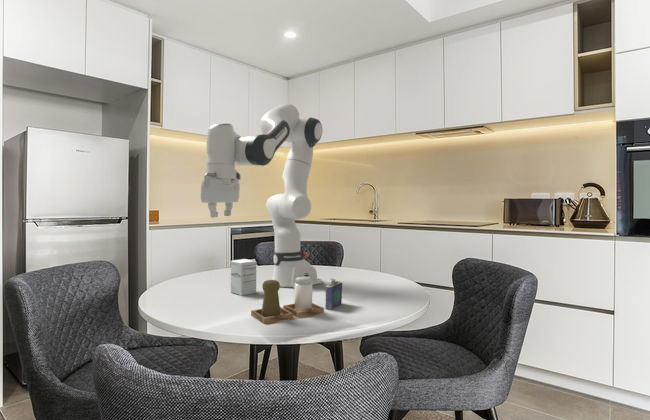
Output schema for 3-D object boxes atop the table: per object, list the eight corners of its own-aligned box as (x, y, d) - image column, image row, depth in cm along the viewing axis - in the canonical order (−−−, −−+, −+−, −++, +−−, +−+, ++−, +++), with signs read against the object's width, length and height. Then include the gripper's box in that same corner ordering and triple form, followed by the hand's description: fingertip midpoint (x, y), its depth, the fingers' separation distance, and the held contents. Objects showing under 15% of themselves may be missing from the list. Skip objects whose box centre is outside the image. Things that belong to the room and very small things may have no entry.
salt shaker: (306, 307, 130) (306, 275, 130) (315, 312, 126) (315, 278, 125) (291, 310, 127) (291, 277, 127) (300, 314, 123) (300, 280, 122)
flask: (330, 314, 128) (330, 281, 128) (322, 313, 130) (322, 280, 129) (343, 308, 136) (343, 276, 136) (335, 306, 138) (335, 275, 137)
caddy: (307, 309, 134) (307, 300, 134) (325, 318, 125) (325, 308, 125) (249, 319, 123) (249, 309, 123) (265, 329, 114) (265, 319, 113)
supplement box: (230, 292, 157) (230, 260, 156) (245, 289, 162) (245, 258, 162) (241, 296, 152) (241, 262, 151) (256, 292, 157) (257, 260, 157)
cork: (284, 315, 122) (284, 279, 122) (274, 320, 117) (274, 283, 116) (267, 312, 125) (268, 277, 124) (256, 318, 119) (257, 281, 119)
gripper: (214, 171, 118) (214, 218, 119) (242, 175, 138) (242, 215, 139) (195, 171, 120) (195, 218, 120) (225, 175, 140) (226, 215, 140)
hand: (221, 216), depth 130 cm, fingers open, 8 cm apart
